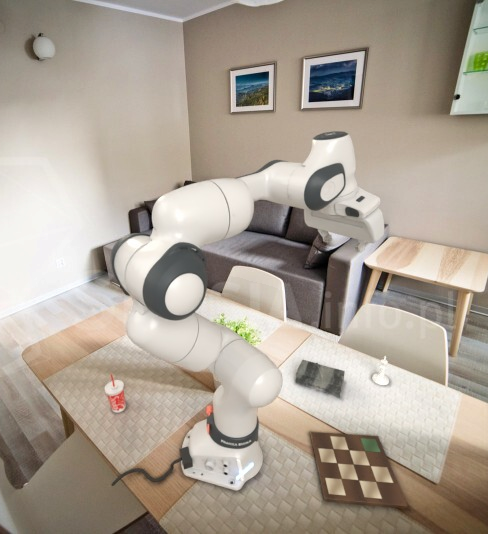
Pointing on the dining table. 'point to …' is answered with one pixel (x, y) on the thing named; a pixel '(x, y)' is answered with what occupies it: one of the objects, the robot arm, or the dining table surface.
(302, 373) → the stone block
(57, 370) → the dining table surface
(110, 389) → the beverage cup
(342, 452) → the game board
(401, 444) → the dining table surface
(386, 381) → the chess piece
